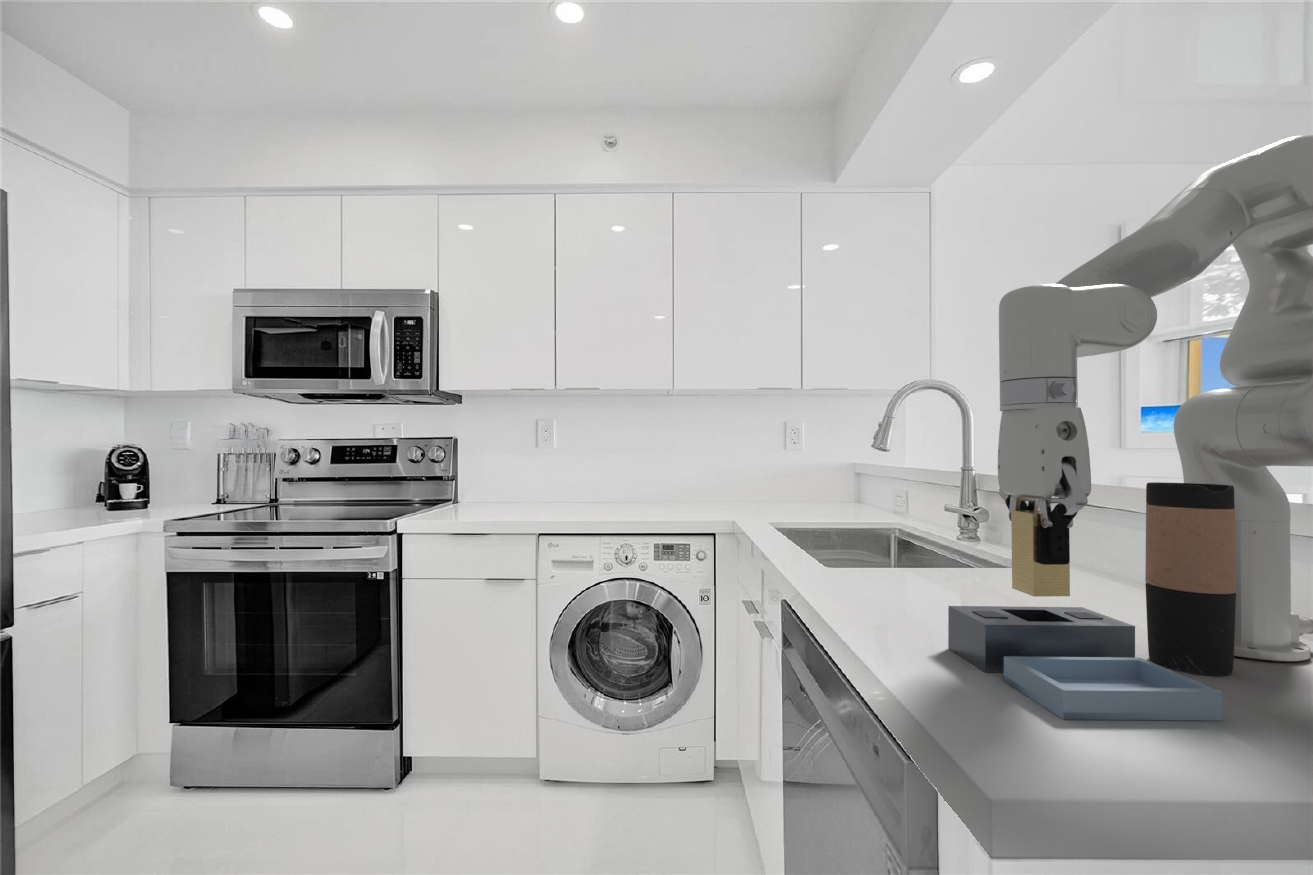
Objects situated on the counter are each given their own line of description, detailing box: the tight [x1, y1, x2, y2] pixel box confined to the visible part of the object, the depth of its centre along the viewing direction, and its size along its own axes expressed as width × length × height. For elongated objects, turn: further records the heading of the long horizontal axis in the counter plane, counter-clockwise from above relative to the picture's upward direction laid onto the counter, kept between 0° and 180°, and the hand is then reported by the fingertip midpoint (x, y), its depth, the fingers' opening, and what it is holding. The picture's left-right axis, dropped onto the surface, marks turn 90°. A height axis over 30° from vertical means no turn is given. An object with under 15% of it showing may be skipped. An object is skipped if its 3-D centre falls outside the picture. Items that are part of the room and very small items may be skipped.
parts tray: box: [1003, 656, 1223, 722], centre depth 59 cm, size 14×9×2 cm, turn 91°
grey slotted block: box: [947, 605, 1136, 674], centre depth 70 cm, size 16×8×5 cm, turn 91°
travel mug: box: [1144, 481, 1236, 677], centre depth 69 cm, size 8×8×20 cm
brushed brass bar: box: [1010, 509, 1071, 597], centre depth 70 cm, size 4×4×9 cm
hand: (1039, 558), depth 70 cm, fingers closed on brushed brass bar, 4 cm apart
